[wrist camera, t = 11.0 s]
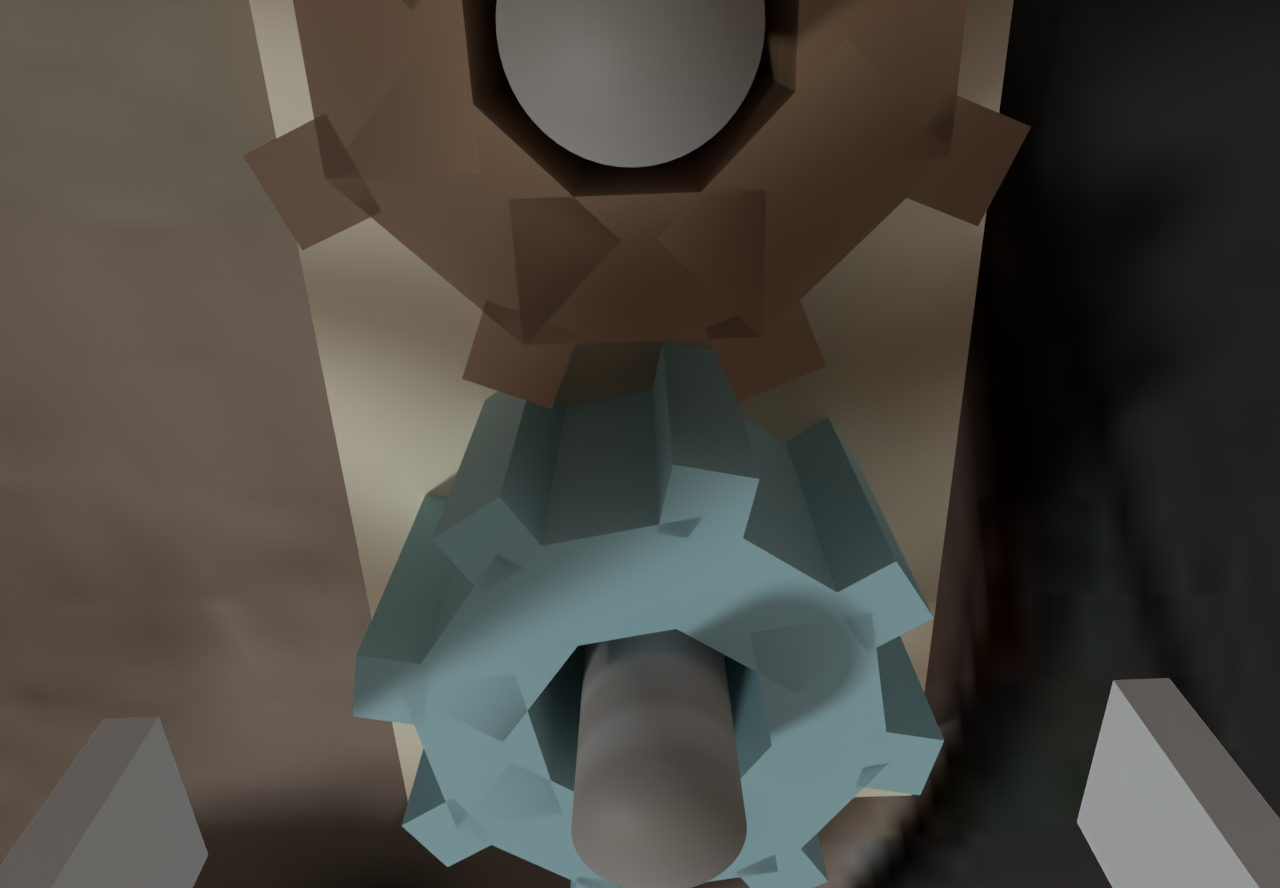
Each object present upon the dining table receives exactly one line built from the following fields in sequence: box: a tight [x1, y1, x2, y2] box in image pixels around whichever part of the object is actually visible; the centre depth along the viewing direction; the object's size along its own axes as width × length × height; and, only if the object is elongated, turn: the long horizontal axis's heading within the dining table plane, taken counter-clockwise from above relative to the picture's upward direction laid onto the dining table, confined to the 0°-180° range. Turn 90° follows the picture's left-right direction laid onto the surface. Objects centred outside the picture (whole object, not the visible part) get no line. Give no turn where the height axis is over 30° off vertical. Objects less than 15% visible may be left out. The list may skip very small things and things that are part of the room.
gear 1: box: [244, 0, 1031, 409], centre depth 12 cm, size 9×9×5 cm
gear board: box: [249, 0, 1014, 888], centre depth 14 cm, size 24×12×8 cm, turn 2°
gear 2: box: [352, 341, 944, 888], centre depth 17 cm, size 9×9×5 cm
